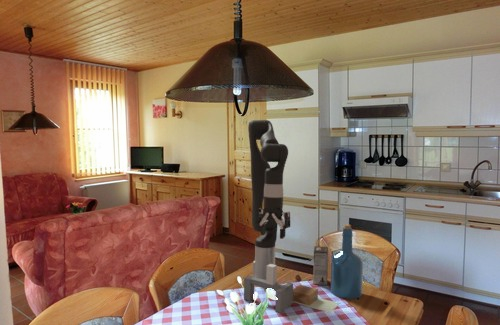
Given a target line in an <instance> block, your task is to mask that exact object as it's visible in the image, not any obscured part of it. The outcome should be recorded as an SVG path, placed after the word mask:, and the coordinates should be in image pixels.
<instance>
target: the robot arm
mask: <svg viewBox="0 0 500 325" xmlns="http://www.w3.org/2000/svg"><path fill="white" fill-rule="evenodd" d="M274 130H275V129H274V127H273V123H272V122H271V121H270V120H269V119H252V120H250V121H249V122H248V126H247V131H248V142H249V150H250V175H251V176H250V179H251V180H250V181H251V194H252V195H251V197H252V198H251V199H252V200H251V201H252V202H251V203H252V204H251V225H252V228H253V230H254V231H255V232H258V233H260V236H258V237H257V238H255V242H254V260H253V261H252V277H255V278H259V279H263V280H266V266H267V265H269V264H274V265H276V242H277V238H278V236H277V235H278V227H279V228H280V229H279V239H282V240H283V239H284V238H285V237H286V229H288V228H290V227H291V212H290V211H284V210H283V207H284V171H285V166H286V164H287V161H288V160H287V159H288V157H289V148H288V146H287V145H285V143H284V144H283V143H279V141H278V139H277V138H276V136H275V135H276V134H275V131H274ZM257 140H258V141H259V143H260V147H261V150H260V148H259V145H258V142H257ZM269 163H276V165H275V166H274V167H271V165H270V164H269ZM283 218H284V219H283Z"/></svg>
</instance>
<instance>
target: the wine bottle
mask: <svg viewBox="0 0 500 325" xmlns="http://www.w3.org/2000/svg"><path fill="white" fill-rule="evenodd" d="M341 236H342V240H341V242H342V244H341V250H340V251H338V252H336V253H334V254H333V255H332V257H331V259H330V289H329V290H330V293H331V294H332V295H334V297H339V298H341V299H348V300H353V299H355V300H356V299H359V298H360V297H362V296H363V277H364V276H363V272H364V270H363V268H364V264H363V260H362V258H361V257H360V256H359V255H358V254H356V253H355V252H354V251H353V237H354V235H353V228H352V225H351V224H344V226H343V227H342V234H341Z"/></svg>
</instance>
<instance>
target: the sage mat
mask: <svg viewBox="0 0 500 325" xmlns="http://www.w3.org/2000/svg"><path fill="white" fill-rule="evenodd" d="M293 303H294V304H299V305H302V306H306V307H309V308H312V309H315V310H319V311H321V312H327V313H329V314H331V312H333V311H334V310H335V309H336V308H337V307H339V305H340V303H339V302H336V301H332V300H329V299H325V298H320V297H318V299H317V300H316V301H315V302H313V303H312V304H311V305H310V306H309V305H305V304H302V303H298V302H295V301H293Z"/></svg>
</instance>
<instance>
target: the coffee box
mask: <svg viewBox="0 0 500 325" xmlns="http://www.w3.org/2000/svg"><path fill="white" fill-rule="evenodd" d="M328 266H329V247H328V246H318V245H315V246H314V247H313V268H312V269H313V274H312V275H313V276H312V277H313V278H312V279H313V280H312V284H313V285H321V286H328V275H329V274H328V271H329V268H328Z"/></svg>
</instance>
